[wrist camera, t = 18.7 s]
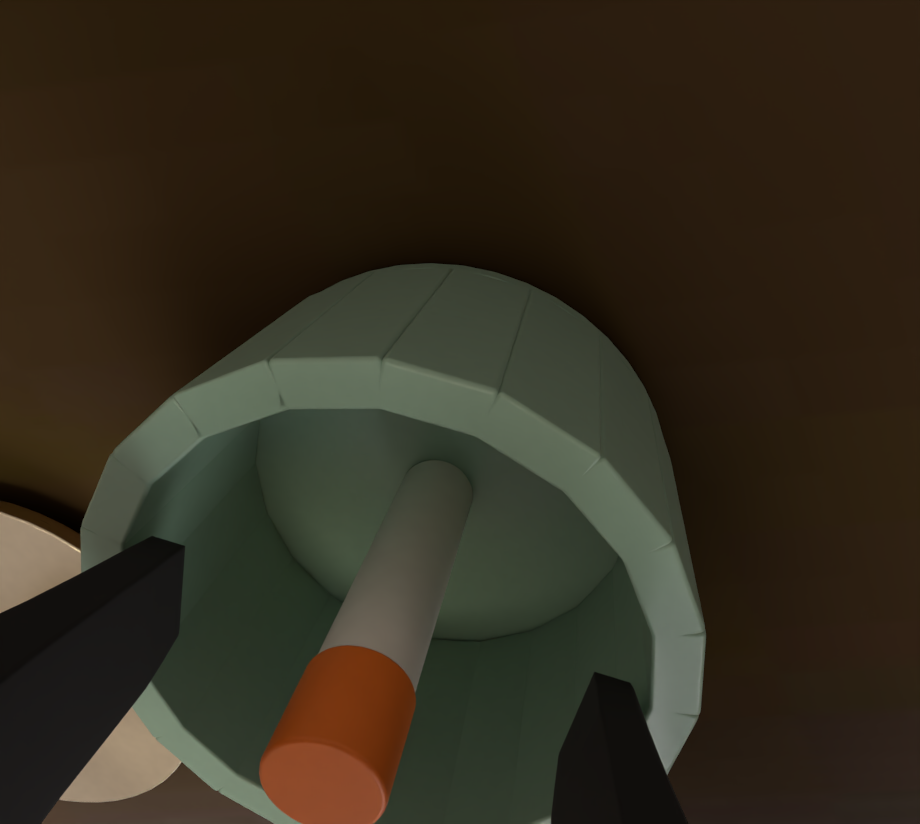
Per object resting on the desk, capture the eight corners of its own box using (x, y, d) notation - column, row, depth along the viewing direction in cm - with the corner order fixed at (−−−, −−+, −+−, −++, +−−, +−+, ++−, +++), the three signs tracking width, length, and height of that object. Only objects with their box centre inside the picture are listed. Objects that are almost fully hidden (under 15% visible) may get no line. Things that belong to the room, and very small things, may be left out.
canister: (742, 339, 15) (829, 484, 9) (586, 695, 19) (584, 930, 14) (258, 205, 15) (74, 269, 10) (220, 582, 20) (82, 765, 14)
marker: (484, 468, 16) (398, 765, 9) (466, 532, 17) (374, 850, 10) (408, 446, 16) (263, 723, 9) (393, 510, 17) (251, 810, 10)
